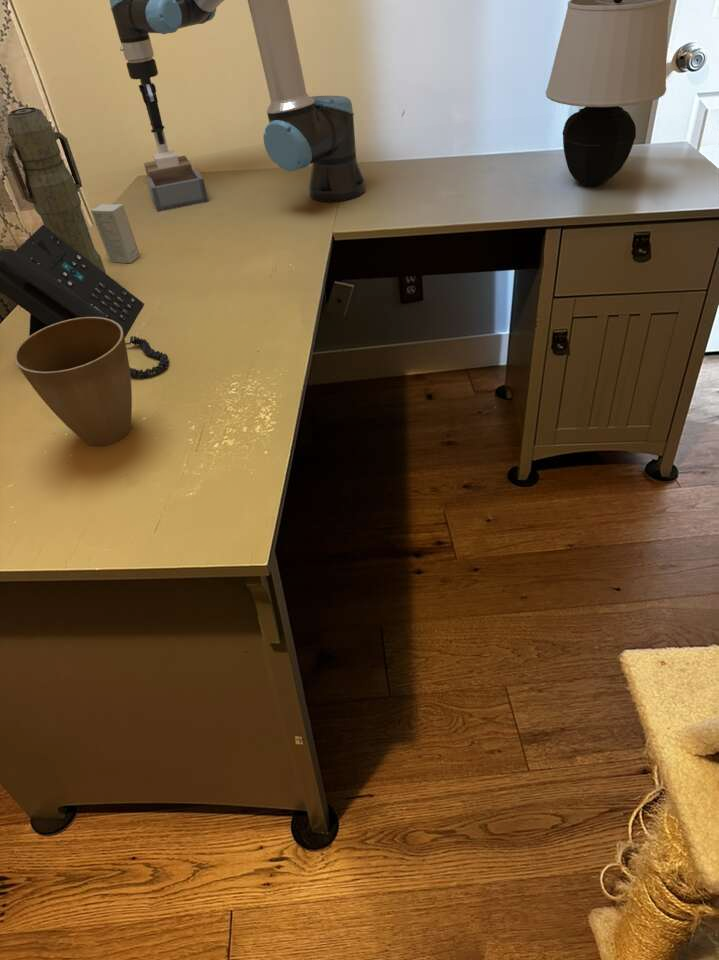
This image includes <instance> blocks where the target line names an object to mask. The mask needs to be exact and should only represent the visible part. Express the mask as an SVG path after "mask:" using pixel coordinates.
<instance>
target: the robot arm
mask: <svg viewBox="0 0 719 960" xmlns="http://www.w3.org/2000/svg"><path fill="white" fill-rule="evenodd" d="M224 1H225V0H109V5H110V11H111V12H112V16H113V20H114V23H115V27H116V30H117V35H118V38H119V41H120V44H121V46H120V47H119V50H120V52H123V56H124V60H126V61H127V62H126V68H127V73H128V76H129V78H130V79H131V80H139V82H140V84H139V85H138V89H139V92H140V93H141V96H142V101H143V103H144V104H145V108H146V110H147V114H148V118H149V122H150V123H149V124H150V126H151V133H153V136H154V140H155V144H156V148H157V152H158V153H163V152H168V151H169V147H168V143H167V139H166V136H165V131H164V129H165V126H164V125H163V121H162V116H161V112H160V109H159V104H158V102H159V99H158V97H157V89H156V85H155V83H154V82H152V80H151V78H154V77H156V76H158V74H159V70H158V66H157V62H156V60H155V59H154V58H153V57H155V56H154V55H155V54H154V50H153V46H152V42H151V38H150V34H161V35H168V34H173V33H176V32H177V31H179V30H180V29H183V28H187V27H191V26H196V25H204V24H205V23H207V22H209V21H212V20H213V19H214V17H215V16H216V12H217V8H218V7H219V6H220V5H221V4H222V3H223V2H224ZM247 3H248V7H249V11H250V17H251V20H252V21H251V22H252V24H253V29H254V34H255V39H256V42H257V46H258V47H257V48H258V50H259V51H258V52H259V55H260V59H261V63H262V68H263V72H264V78H265V81H266V84H267V85H266V86H267V90H268V94H269V95H268V96H269V99H270V104H269V106H268V108H267V109H266V113H267V118H268V123H267V125H266V126H265V128H264V132H263V145H264V148H265V150H266V152H267V154H268V156H269V158H270V159H271V160H272V161H273V163H274V164H277V166H278V167H279V168H280V169H283V170H285V171H288V172H296V171H298V170H302V169H305V168H307V167H309V166H310V165H311V164H312V167H311V171H310V178H309V183H308V193H309V196H310V198H311V199H313V200H315V201H321V202H341V201H342V202H343V201H347V200H352V199H355V198H358V197H359V195H360V196H362V195H363V194H364V193H365V191H366V184H365V179H364V177H363V174H362V171H361V168H360V165H359V163H358V160H357V151H356V150H357V149H356V148H357V147H356V137H355V135H356V134H355V123H354V115H355V114H354V111H353V103H352V100H351V99H350V98H349V97H347V96H343V95H313V96H312V95H311V96H310V95H308V93H307V89H306V83H305V79H304V75H303V69H302V64H301V61H300V54H299V49H298V45H297V40H296V35H295V29H294V25H293V24H294V23H293V20H292V14H291V9H290V5H289V0H247ZM363 192H364V193H363ZM362 193H363V194H362Z"/></svg>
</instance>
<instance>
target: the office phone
mask: <svg viewBox="0 0 719 960" xmlns="http://www.w3.org/2000/svg"><path fill="white" fill-rule="evenodd" d="M0 293H1V294H2V295H3V296H5V297H7V298H8V299H9V300H11V301H12V302H14V304H16V305H17V306H19V307H20V308H22V309H23V310H25V311H26V312H27V313H29V314H30V315H29V316H30V317H29V332H28V333H29V335H28V337H29V336H31V335H32V334H34V333H35V332H37V331H39V330H41V329H43V328H45V327H47V326H50V325H52V324H55V323H58V322H61V321H65V320H69V319H74V318H82V317H102V318H107V319H110V320H113V321H115V322H116V323H118V324H119V325H120V326H121V327H122V329H123V334H124V338H125V337H126V335H127V333H128V331H130V329H131V327H132V325H133V323H134V322H135V320H136V318H137V317H138V315H139V313H140V311H141V310H142V309H143V307H144V305H145V303H144V302H142V301H141V300H140V299H139V298H138V297H136V296H135V295H134V294H132V293H131V292H130V291H129V290H127V289H126V288H124V286H123V285H121V284H120V283H118V282H117V281H116V280H114V279H113V278H112V277H111V276H109V274H107V272H106V273H104V272H103V271H102V270H100V269H99V268H98V267H97V266H95V265H94V264H93V263H92V262H90V261H89V260H88V259H86V258H85V257H84V256H83V255H81V254H80V253H79V252H77V251H76V250H75V249H74V248H72V247H71V246H70V245H69V244H67V243H66V242H65V241H63V240H62V239H61V238H60V237H58V236H57V235H56V234H55V233H53V232H52V231H51V230H49V229H48V228H47V227H46V226H44V224H42V225H41V226H40V227H39V228H38V229H36V231H35V232H34V233H32V234H31V235H30V236H29V237H28V238H27V239H26V240H25V241H24V242H23V243H22V244H20V246H19V247H18V248H17V249H16V250H14V249H12V248H4V249H3V248H2V249H1V250H0ZM125 343H126V342H125ZM127 345H134V346H136V345H138V347H140V349H141V350H142V351H143V353H145V354H146V356H148V357H149V358H152V359H156V360H158V361H159V362H157V363H158V364H157V365H156V366H152V368H146V369H145V370H144V371H143V369H140V370H139V369H136V368H133V367H131V366H129V368H130V377H132V378H134V379H136V378H139V379H146V378H149V377H154V375H155V376H156V375H160V374H163V372H164V371H166V370H168V369H167V368H168V367H169V366H168V364H169V363H170V359H169V356H168V354H166V353H165V352H164V353H163V351H162V352H161V351H159V350H157V351H156V350H155V349H154V348H152V346H150V343H149V342H148V341H147V339H145V338H142V337H141V338H140V337H137V336H135V335H134V336H133V335H131V336H130V339H129V342H127V343H126V346H127Z"/></svg>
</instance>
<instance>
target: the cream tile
mask: <svg viewBox="0 0 719 960" xmlns="http://www.w3.org/2000/svg"><path fill="white" fill-rule="evenodd" d="M152 156H153V159H154V161H155V164H156V166H157V168H158V169H161V168H166V167H172V166H177V165H179V161H178V157H179V156H178V155H177V153H176V151H175V150H168V152H163V153H159V152H158V153H157V152H156V153H153V154H152Z"/></svg>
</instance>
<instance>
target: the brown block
mask: <svg viewBox="0 0 719 960" xmlns="http://www.w3.org/2000/svg"><path fill="white" fill-rule="evenodd" d="M177 157H178V161H179V165H177V166H172V167H166V168H161V169H158V168H157V166H156V164H155V160H154V161H153V160H152V161H148V162H143V165H144V169H145V173H146V175H147V177H151V179H152V181H153V183H154V185H155V187H156V186H161V185H166V184H171V183H176V182H182V181H187V180H192V179H194V177H193V172H192V169H193V167H192V163H191V162H190V161H189V159H188V158H187V156H186V155H181V156H177ZM147 177H146V178H147Z"/></svg>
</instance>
